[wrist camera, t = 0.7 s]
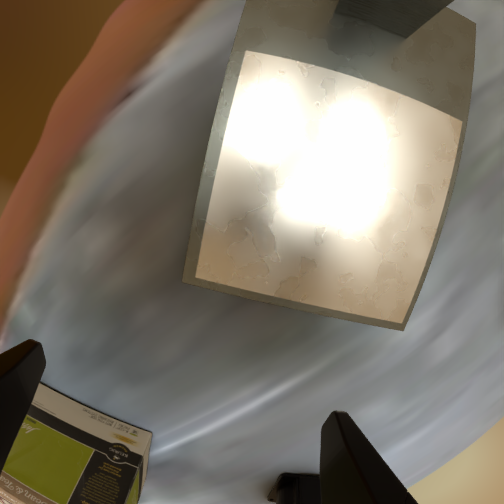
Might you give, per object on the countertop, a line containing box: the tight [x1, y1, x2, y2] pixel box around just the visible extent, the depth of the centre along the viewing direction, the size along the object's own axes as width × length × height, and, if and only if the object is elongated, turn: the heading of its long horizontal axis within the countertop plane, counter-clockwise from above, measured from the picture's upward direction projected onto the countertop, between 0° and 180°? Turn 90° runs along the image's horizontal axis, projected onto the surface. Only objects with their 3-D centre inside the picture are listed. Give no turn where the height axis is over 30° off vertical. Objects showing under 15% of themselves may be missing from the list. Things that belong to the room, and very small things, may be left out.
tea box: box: [0, 383, 152, 504], centre depth 23 cm, size 15×10×15 cm, turn 73°
